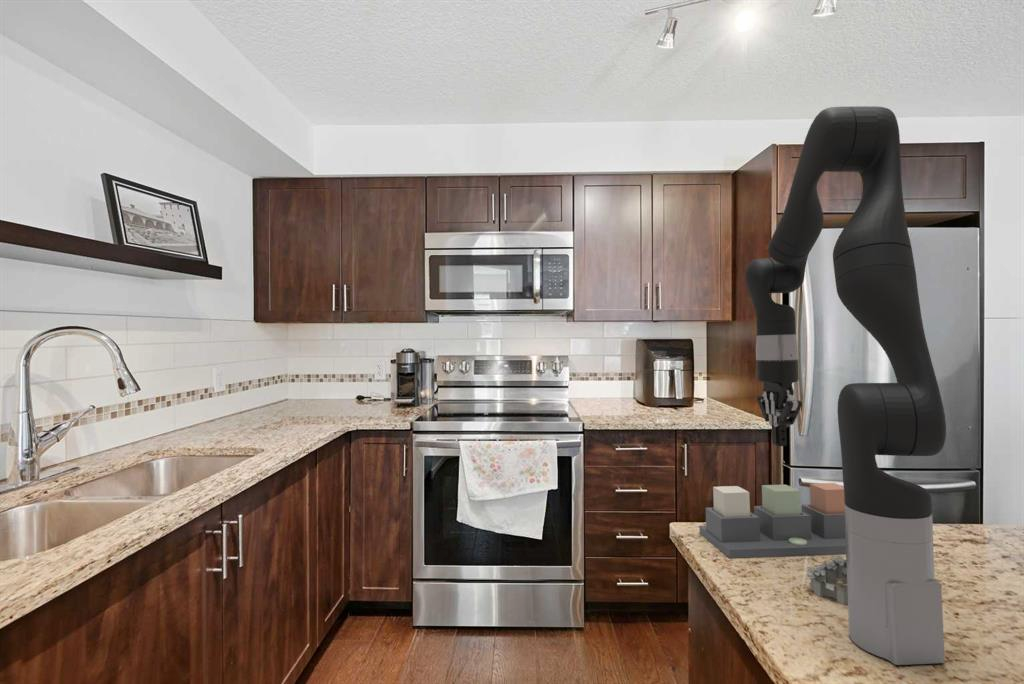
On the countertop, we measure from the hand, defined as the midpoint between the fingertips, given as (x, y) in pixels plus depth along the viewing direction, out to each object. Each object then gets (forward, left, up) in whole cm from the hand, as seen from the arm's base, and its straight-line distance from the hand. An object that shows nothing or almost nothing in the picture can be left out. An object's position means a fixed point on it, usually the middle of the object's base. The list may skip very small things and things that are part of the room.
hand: (779, 445), depth 107 cm
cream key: (0, +10, -14) cm, 18 cm away
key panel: (-1, 0, -19) cm, 19 cm away
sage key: (0, 0, -14) cm, 14 cm away
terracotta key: (0, -10, -14) cm, 17 cm away
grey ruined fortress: (-22, +2, -19) cm, 29 cm away
